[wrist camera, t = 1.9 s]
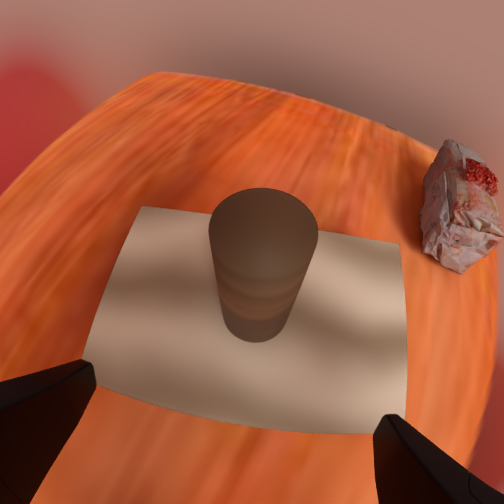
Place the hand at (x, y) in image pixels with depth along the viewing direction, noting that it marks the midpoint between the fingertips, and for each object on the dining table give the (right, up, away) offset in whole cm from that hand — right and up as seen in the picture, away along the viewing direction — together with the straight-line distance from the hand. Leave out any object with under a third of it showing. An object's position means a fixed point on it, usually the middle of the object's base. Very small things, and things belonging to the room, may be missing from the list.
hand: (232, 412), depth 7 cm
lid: (+1, +1, +10) cm, 10 cm away
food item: (+22, +7, +21) cm, 31 cm away
